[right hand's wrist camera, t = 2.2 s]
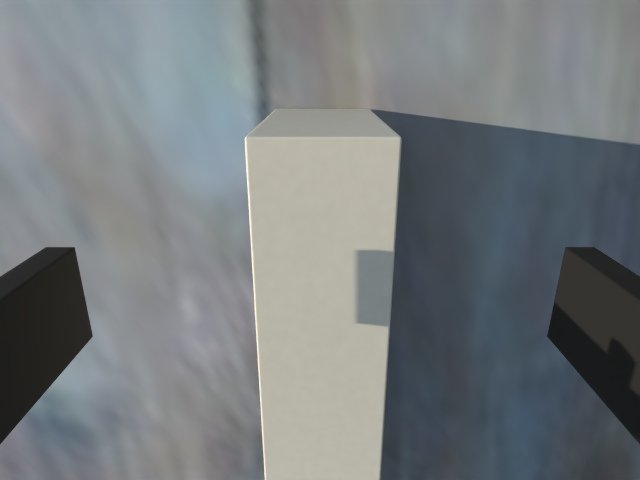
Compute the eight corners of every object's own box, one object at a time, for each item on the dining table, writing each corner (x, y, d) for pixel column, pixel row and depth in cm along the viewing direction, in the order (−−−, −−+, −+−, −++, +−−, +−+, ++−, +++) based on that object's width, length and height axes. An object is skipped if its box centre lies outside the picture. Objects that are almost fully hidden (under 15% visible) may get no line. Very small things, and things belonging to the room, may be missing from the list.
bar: (275, 108, 22) (244, 136, 13) (369, 108, 22) (402, 136, 13) (291, 556, 34) (280, 732, 25) (353, 556, 34) (364, 733, 25)
